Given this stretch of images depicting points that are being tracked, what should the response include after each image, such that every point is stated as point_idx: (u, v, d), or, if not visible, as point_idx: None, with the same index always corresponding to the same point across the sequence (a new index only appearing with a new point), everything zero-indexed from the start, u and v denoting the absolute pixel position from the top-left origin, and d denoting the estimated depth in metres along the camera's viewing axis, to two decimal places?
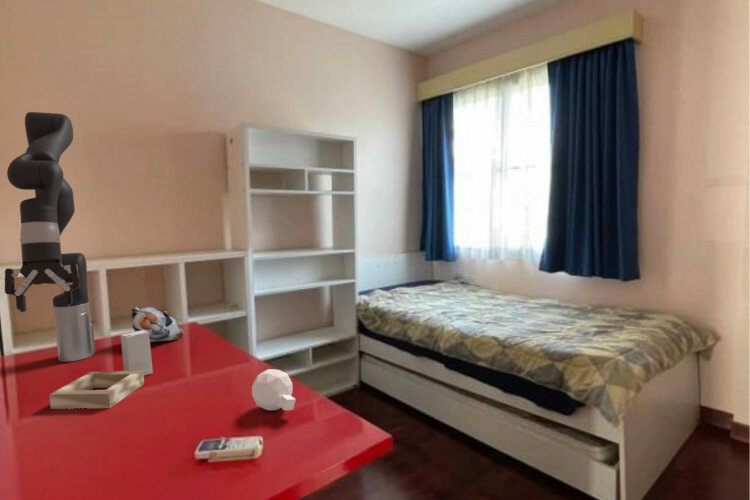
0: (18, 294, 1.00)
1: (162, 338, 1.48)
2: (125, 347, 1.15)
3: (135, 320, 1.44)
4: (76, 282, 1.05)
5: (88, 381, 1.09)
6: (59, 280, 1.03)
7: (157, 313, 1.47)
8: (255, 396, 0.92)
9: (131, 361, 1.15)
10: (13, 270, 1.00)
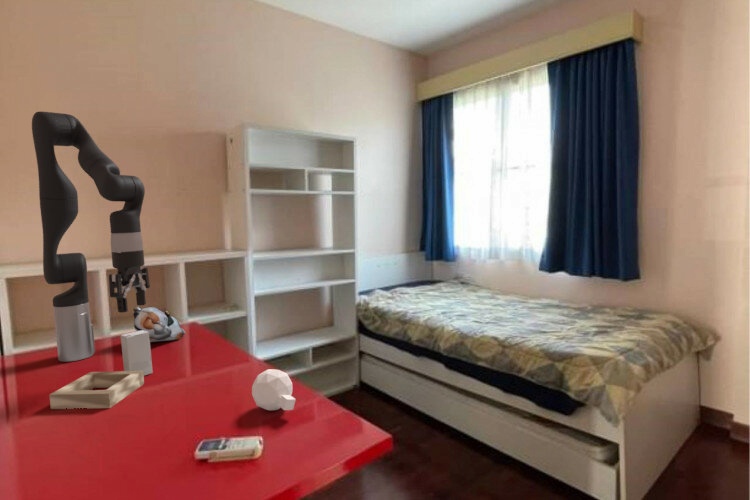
0: (125, 296, 1.12)
1: (164, 338, 1.48)
2: (125, 347, 1.15)
3: (137, 320, 1.44)
4: (148, 283, 1.23)
5: (88, 381, 1.09)
6: (143, 282, 1.20)
7: (159, 313, 1.47)
8: (255, 396, 0.92)
9: (131, 361, 1.15)
10: None
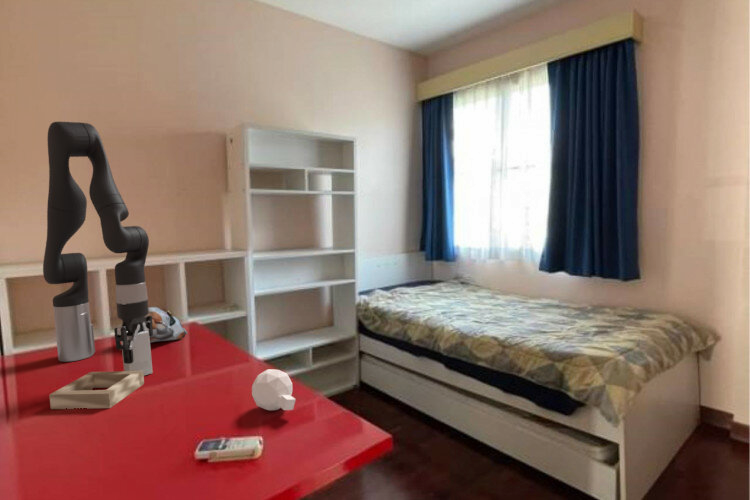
0: (131, 348, 1.14)
1: (166, 338, 1.48)
2: None
3: None
4: (152, 331, 1.24)
5: (88, 381, 1.09)
6: None
7: (161, 313, 1.47)
8: (255, 396, 0.92)
9: None
10: None
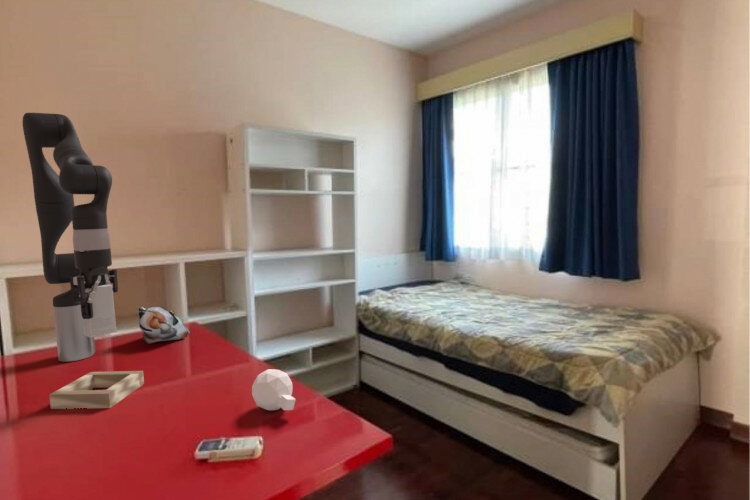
0: (90, 301, 1.01)
1: (169, 337, 1.49)
2: None
3: (143, 320, 1.44)
4: (116, 287, 1.11)
5: (88, 381, 1.09)
6: None
7: (164, 312, 1.48)
8: (255, 396, 0.92)
9: None
10: None
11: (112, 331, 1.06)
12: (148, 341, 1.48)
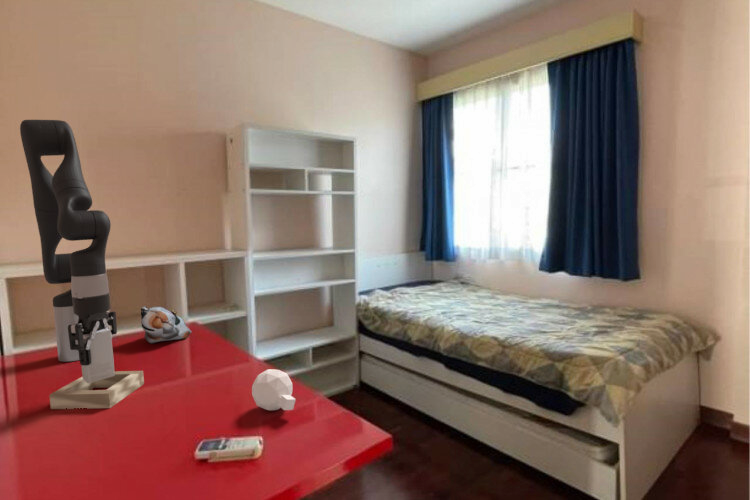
0: (88, 348, 1.01)
1: (172, 337, 1.49)
2: None
3: (145, 320, 1.45)
4: (115, 329, 1.11)
5: None
6: None
7: (167, 312, 1.48)
8: (255, 396, 0.92)
9: None
10: None
11: (110, 375, 1.06)
12: (150, 341, 1.48)
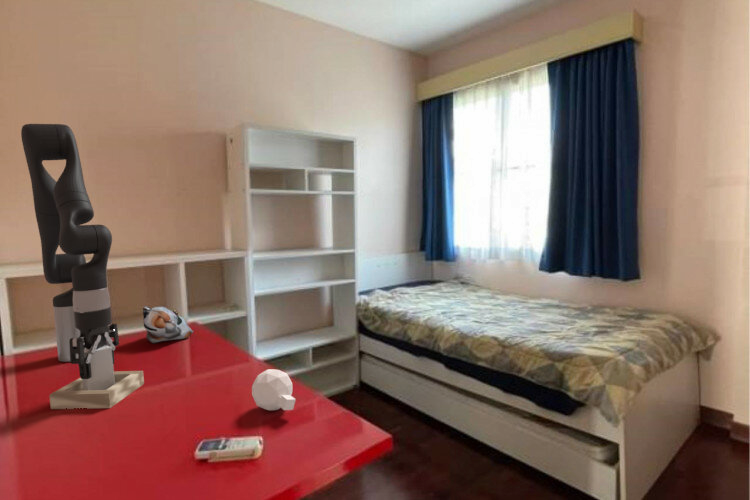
0: (88, 361, 1.00)
1: (174, 337, 1.49)
2: None
3: (147, 319, 1.45)
4: (117, 340, 1.11)
5: None
6: (111, 341, 1.08)
7: (169, 312, 1.48)
8: (255, 396, 0.92)
9: (89, 380, 1.02)
10: None
11: None
12: (152, 341, 1.48)
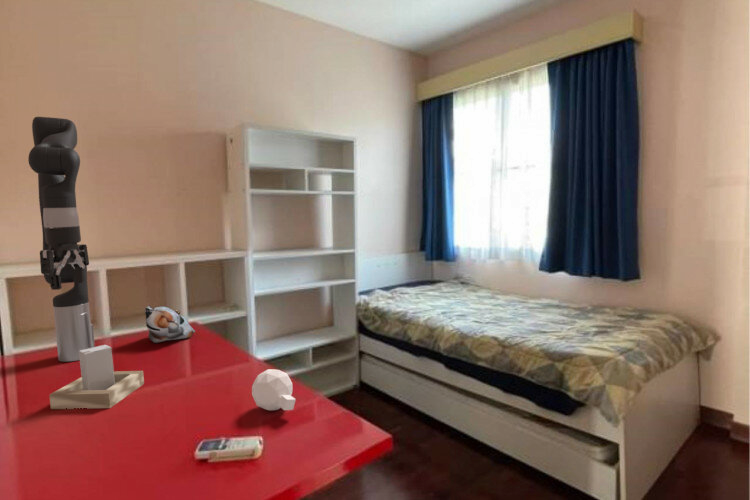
0: (58, 273, 1.09)
1: (176, 336, 1.50)
2: (83, 365, 1.02)
3: (150, 319, 1.45)
4: (87, 260, 1.20)
5: None
6: (81, 259, 1.17)
7: (172, 312, 1.48)
8: (255, 396, 0.92)
9: (89, 380, 1.02)
10: None
11: None
12: (155, 340, 1.48)
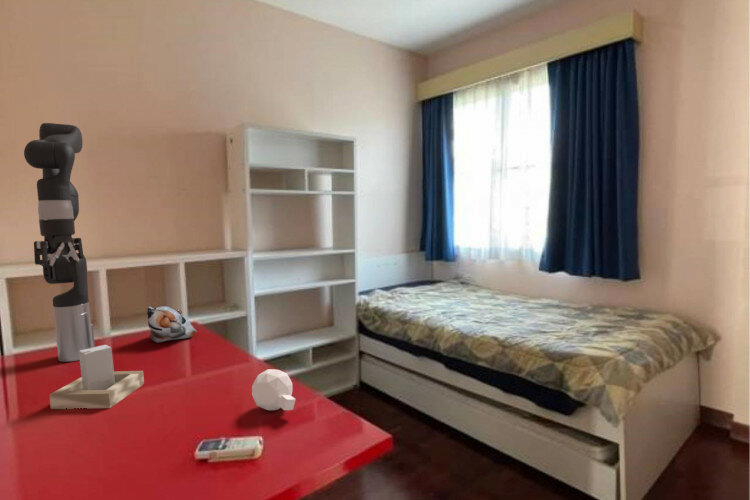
0: (52, 264, 1.11)
1: (178, 336, 1.50)
2: (83, 365, 1.02)
3: (152, 319, 1.45)
4: (82, 254, 1.22)
5: None
6: (75, 252, 1.18)
7: (174, 311, 1.49)
8: (255, 396, 0.92)
9: (89, 380, 1.02)
10: None
11: None
12: (157, 340, 1.49)
